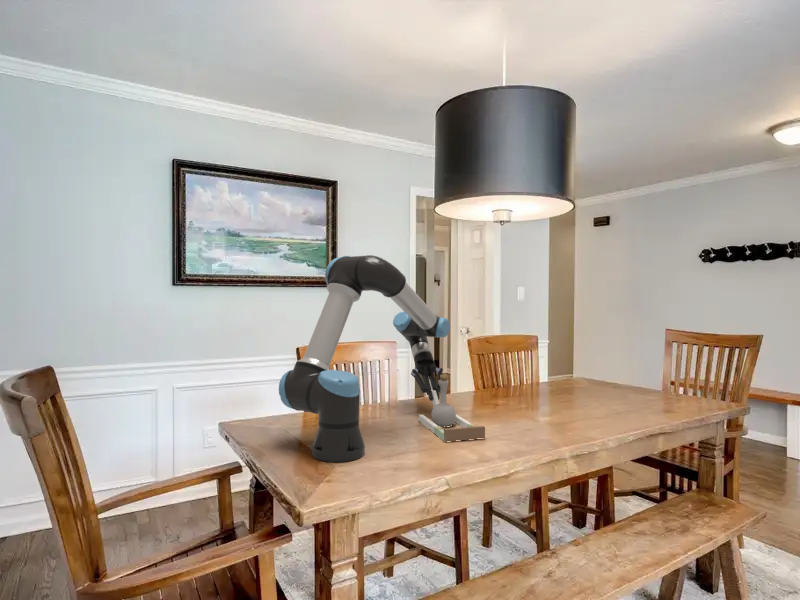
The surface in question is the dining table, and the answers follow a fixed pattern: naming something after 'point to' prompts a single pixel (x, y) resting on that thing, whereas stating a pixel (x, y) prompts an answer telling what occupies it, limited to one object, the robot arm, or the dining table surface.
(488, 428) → the dining table surface
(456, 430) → the slot track
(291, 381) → the robot arm
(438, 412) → the potion bottle
